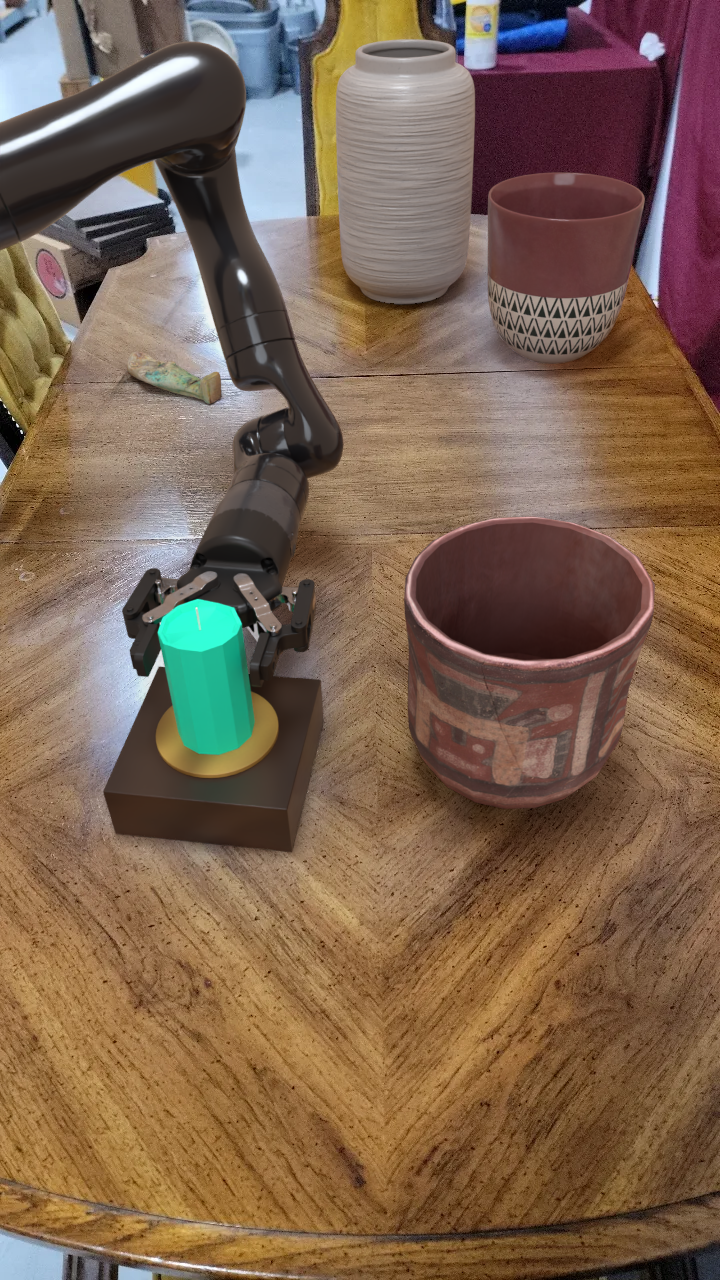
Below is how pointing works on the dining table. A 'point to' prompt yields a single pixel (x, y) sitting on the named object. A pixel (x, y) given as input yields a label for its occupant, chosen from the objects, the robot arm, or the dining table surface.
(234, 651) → the candle
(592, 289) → the planter
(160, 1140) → the dining table surface
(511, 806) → the pottery
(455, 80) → the vase
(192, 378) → the figurine
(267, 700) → the stand
